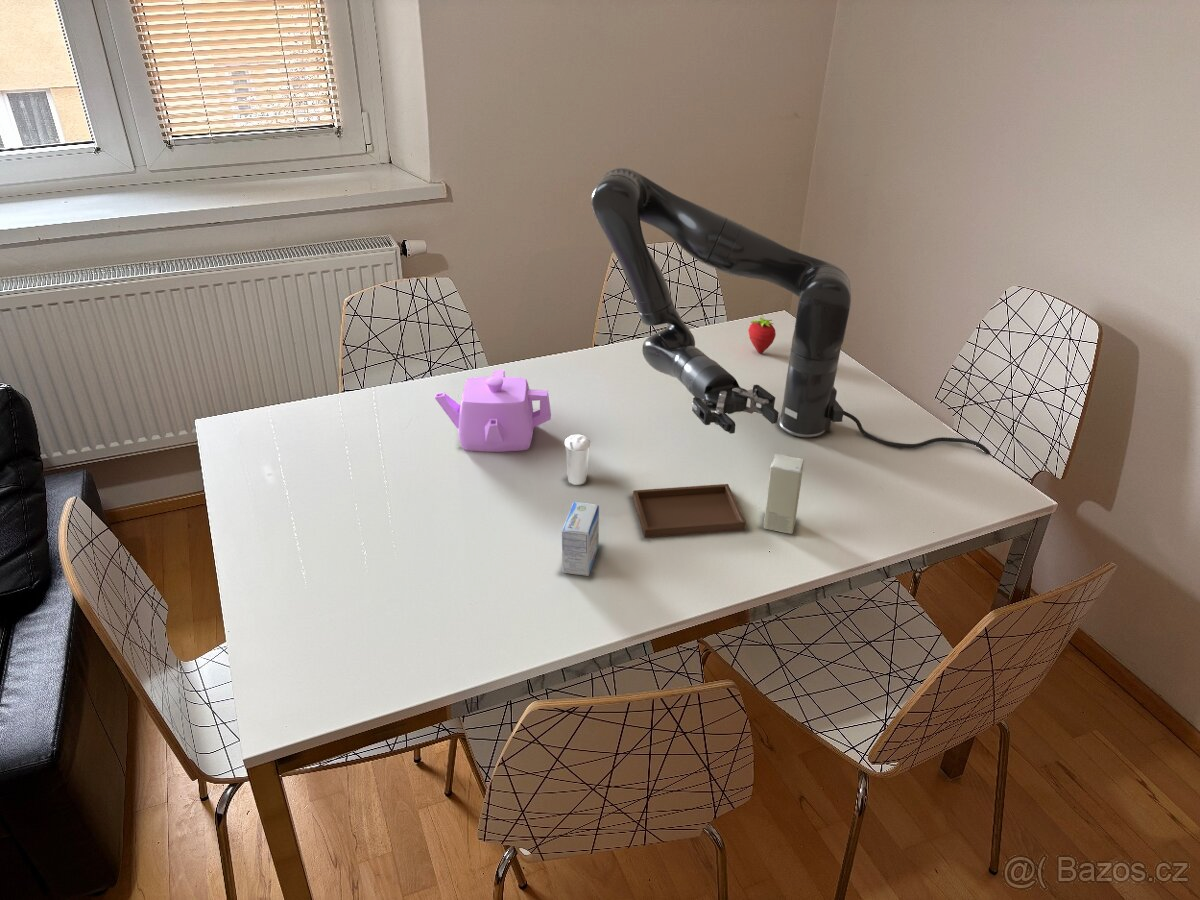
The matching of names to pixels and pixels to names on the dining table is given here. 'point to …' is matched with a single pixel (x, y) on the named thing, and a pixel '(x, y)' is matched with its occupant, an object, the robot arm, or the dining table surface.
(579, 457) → the milkshake
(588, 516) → the medicine box
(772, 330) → the strawberry
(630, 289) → the robot arm
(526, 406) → the teakettle
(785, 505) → the box
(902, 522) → the dining table surface
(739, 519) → the tray
